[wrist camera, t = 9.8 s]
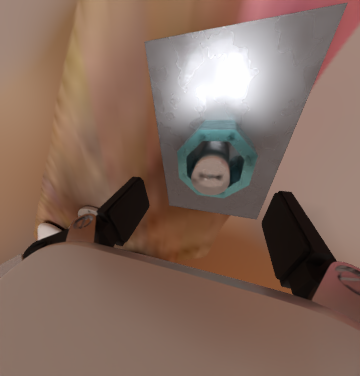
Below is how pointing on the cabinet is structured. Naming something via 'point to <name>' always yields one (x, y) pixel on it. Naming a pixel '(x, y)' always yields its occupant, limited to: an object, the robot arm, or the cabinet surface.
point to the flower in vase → (47, 230)
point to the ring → (219, 132)
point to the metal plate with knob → (236, 99)
